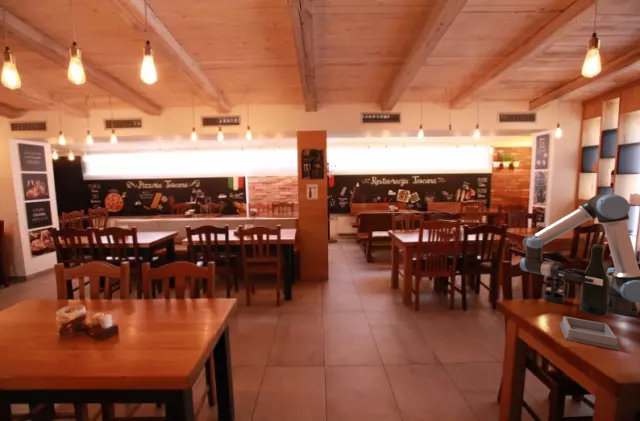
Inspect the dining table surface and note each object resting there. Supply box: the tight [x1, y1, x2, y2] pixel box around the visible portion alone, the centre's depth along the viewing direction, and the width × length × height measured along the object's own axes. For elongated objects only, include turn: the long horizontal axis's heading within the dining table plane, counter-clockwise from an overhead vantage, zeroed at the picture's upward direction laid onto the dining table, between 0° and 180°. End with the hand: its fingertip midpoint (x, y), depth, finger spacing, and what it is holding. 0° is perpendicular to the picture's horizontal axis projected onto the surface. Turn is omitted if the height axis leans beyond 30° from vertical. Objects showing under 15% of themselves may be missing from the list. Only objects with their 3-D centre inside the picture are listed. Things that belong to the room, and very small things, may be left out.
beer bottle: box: [579, 244, 609, 317], centre depth 152 cm, size 10×10×33 cm
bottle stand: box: [559, 316, 621, 351], centre depth 142 cm, size 18×18×4 cm
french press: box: [543, 261, 570, 304], centre depth 184 cm, size 12×9×23 cm
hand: (607, 280), depth 148 cm, fingers closed on beer bottle, 9 cm apart
